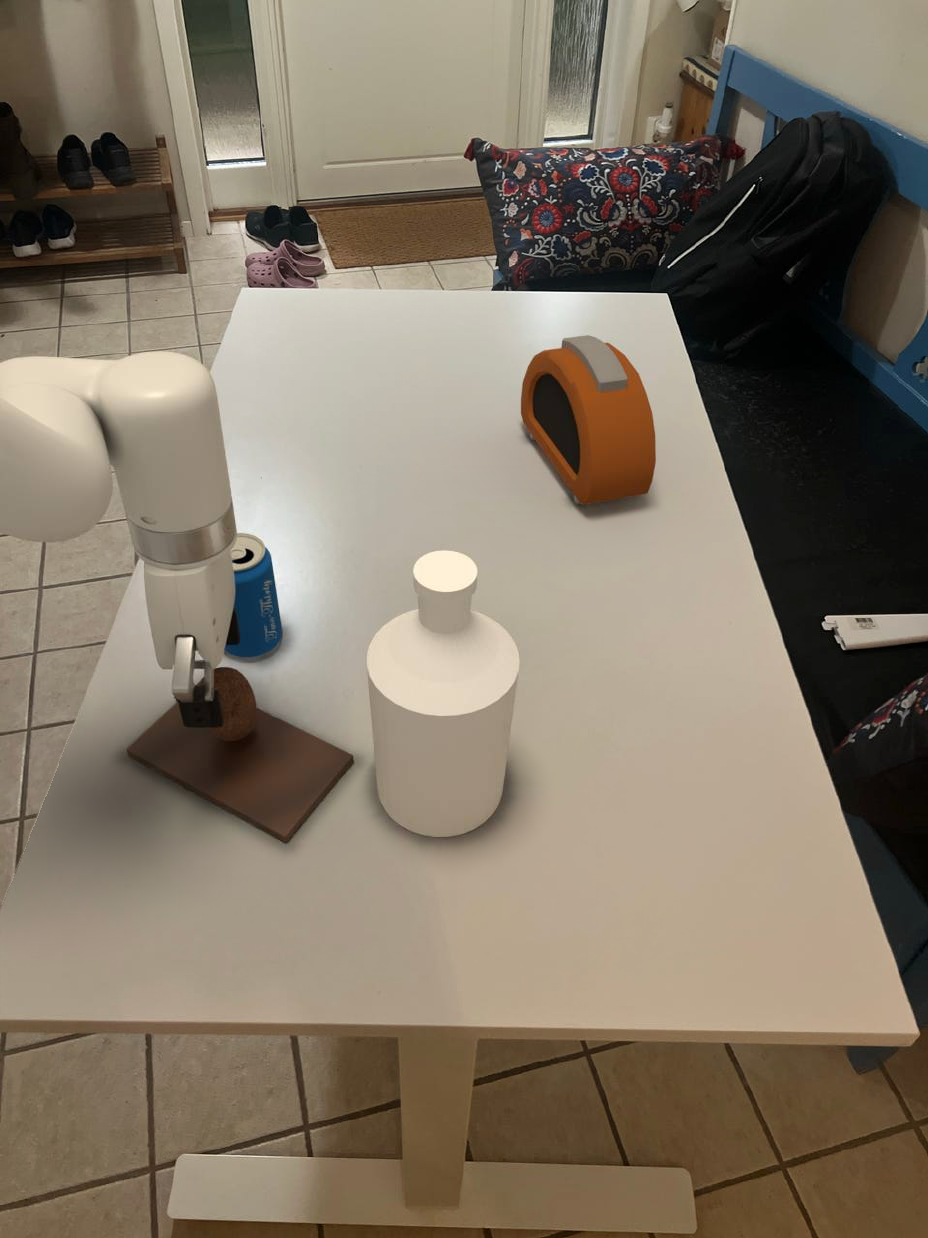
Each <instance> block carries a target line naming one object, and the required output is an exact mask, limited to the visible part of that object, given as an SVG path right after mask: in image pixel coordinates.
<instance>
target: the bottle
mask: <svg viewBox="0 0 928 1238" xmlns="http://www.w3.org/2000/svg"><path fill="white" fill-rule="evenodd" d="M412 573H413V574H412V580H413V581H412V582H413V590H414V592H415V593H416V595H417V605H418V606H417V608H416V609H414V610H410V611H406V612H404V613H402V614H400V615H398V616H396V617H394V618H392V619H391V620H389V621H388V622H386V623H385V624H384V625H382V627H381V628H380V629H379V630H378V631H377V632H376V633H375V635H374V636H373V638H372V639H371V641H370V643H369V646H368V649H367V653H366V671H367V672H366V674H367V682H368V683H367V685H368V695H369V708H370V718H371V731H372V732H371V733H372V738H373V739H372V742H373V743H372V744H373V754H374V765H375V766H374V767H375V776H376V777H375V778H376V789H377V795H378V799H379V802H380V803H381V805H382V807H383V809H384V811H385V812H386V813H387V815H388V816H389V818H391V820H393V821H394V822H395V823H396V824H398V825H399V826H400V827H402V828H404V829H405V830H408V831H409V832H412V833H414V834H418V835H421V836H425V837H432V838H452V837H456V836H460V835H464V834H466V833H469V832H471V831H473V830H475V829H477V828H478V827H480V826H481V825H484V824H485V823H486V822H487V820H489V819H490V818H491V817H492V816H493V815H494V813H495V811H496V810H497V808H498V807H499V805H500V802H501V800H502V796H503V791H504V790H503V789H504V782H505V777H506V776H505V775H506V770H507V769H506V767H507V760H508V754H509V745H510V740H511V739H510V737H511V730H512V725H513V724H512V723H513V715H514V709H515V701H516V694H517V693H516V692H517V688H518V687H517V685H518V680H519V679H518V678H519V671H520V662H521V661H520V655H519V649H518V647H517V644H516V643H515V640H514V639H513V638H512V637H513V636H511V635H510V634H509V632H508V631H507V630H506V629H505V628H504V627H503V626H502V625H501V624H499V623H498V622H497V621H495V620H494V619H492V618H490V616H487V615H485V614H482V613H480V612H478V611H475V610H472V599H473V596H474V594H475V593H476V591H477V587H478V567H477V565H476V563H475V562H474V561H473V559H472V558H471V557H470V556H467V555H465V554H464V553H462V552H459V551H454V550H436V551H431V552H428V553H426V554H424V555H422V556H420V557H419V558H418V560H416V561H415V563H414V566H413V571H412Z"/></svg>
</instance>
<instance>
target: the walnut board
mask: <svg viewBox="0 0 928 1238" xmlns="http://www.w3.org/2000/svg"><path fill="white" fill-rule="evenodd" d="M199 683H200V681H198V682H197V683H196V684H195V686H198V685H199ZM125 751H126V753H127V756H128V758H131V759H133V760H135V761H136V762H138V763H140V764H142V765H144V766H146V767H147V768H149V769H151V770H153V771H155V772H157V773H158V774H160V775H162V776H164V777H166V778H167V779H169V780H171V781H173V782H174V783H177V784H178V785H180V786H182V787H184V788H185V789H187V790H189V791H191V792H193V793H194V794H196V795H198V796H200V797H202V798H203V799H206V800H207V801H209V802H211V803H212V804H214V805H216V806H218V807H220V808H222V809H224V810H226V811H227V812H229V813H231V814H233V815H234V816H236V817H238V818H240V819H241V820H244V821H245V822H247V823H249V824H251V825H253V826H254V827H256V828H258V829H259V830H262V831H263V832H265V833H267V834H268V835H270V836H273V837H274V838H276V839H278V840H280V841H281V842H282V843H285V844H287V843H288V842H289V841H290V840H291V838H292V837H293V836H294V834H296V832H297V831H298V830H299V829H300V828H301V826H302V825H303V824H304V823H305V822H306V820H307V819H308V818H309V816H310V815H311V814H312V813H313V812H314V811H315V810H316V809H317V807H318V806H319V804H320V803H321V802H322V801H323V800H324V798H325V797H326V796H327V795H328V794H329V792H330V791H331V790H332V789H333V787H334V786H335V785H336V784H337V783H338V782H339V780H340V779H341V778H342V776H343V775H344V774H345V773H346V772H347V770H348V769H349V768H350V767H351V766H352V765H353V763H354V762H355V761H354V760H355V759H354V755H353V754H351V753H349V752H347V751H345V750H343V749H342V748H339V747H337V746H335V745H333V744H331V743H329V742H327V741H325V740H323V739H321V738H319V737H317V736H315V735H313V734H312V733H309V732H307V731H305V730H303V729H300V728H299V727H297V726H295V725H293V724H291V723H289V722H287V721H284V720H283V719H280V718H278V717H277V716H274V715H273V714H270V713H269V712H267V711H264V710H262V709H260V708H258V707H257V721H256V724H255V727H254V729H253V730H252V731H251V732H250V733H249V734H248V735H247V736H245V737H244V738H242V739H240V740H237V741H226V740H221V739H219V738H217V737H216V736H215V735H213V734H212V733H211V732H210V731H209V730H208V729H207V728H189V727H185V726H184V724H183V720H182V716H181V712H180V708H179V704H178V703H177V702H176V703H174V705H172V707H170V708H169V709H168V710H167V711H166V712H165V713H164V714H163V715H162V716H161V717H159V718H158V719H157V720H156V721H155V722H154V723H153V724H152V725H151V726H150V727H149V728H147V730H146V731H144V732H143V733H142V734H141V735H140V736H139V737H138V738H136V740H135V741H133V743H131V744H130V745H129V746H128V747H127V748H126V750H125Z"/></svg>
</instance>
